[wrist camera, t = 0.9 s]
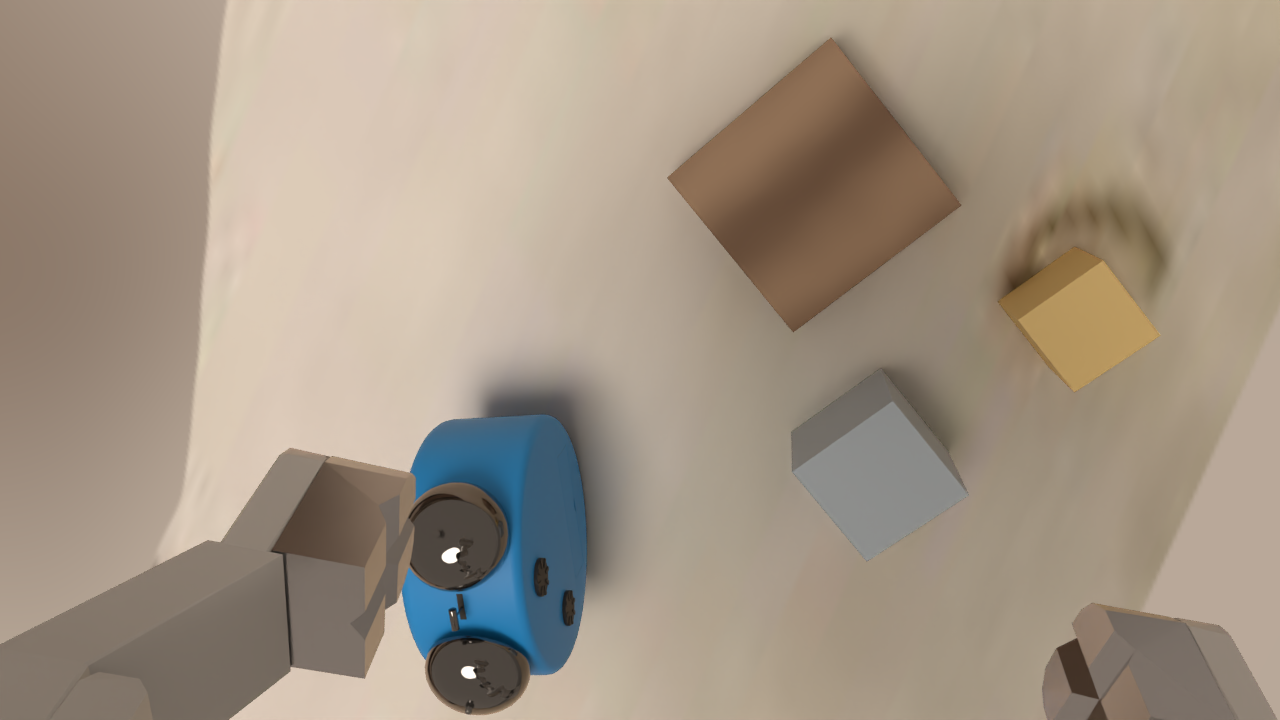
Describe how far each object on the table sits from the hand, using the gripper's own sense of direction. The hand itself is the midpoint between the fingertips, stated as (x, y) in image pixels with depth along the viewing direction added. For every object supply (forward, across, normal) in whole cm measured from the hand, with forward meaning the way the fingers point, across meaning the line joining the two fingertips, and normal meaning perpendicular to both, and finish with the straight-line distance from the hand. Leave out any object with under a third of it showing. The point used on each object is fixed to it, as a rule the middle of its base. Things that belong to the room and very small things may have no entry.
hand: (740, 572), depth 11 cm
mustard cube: (+35, +19, -12) cm, 42 cm away
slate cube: (+33, +12, -22) cm, 41 cm away
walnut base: (+38, +6, -10) cm, 39 cm away
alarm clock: (+33, -6, -29) cm, 44 cm away
